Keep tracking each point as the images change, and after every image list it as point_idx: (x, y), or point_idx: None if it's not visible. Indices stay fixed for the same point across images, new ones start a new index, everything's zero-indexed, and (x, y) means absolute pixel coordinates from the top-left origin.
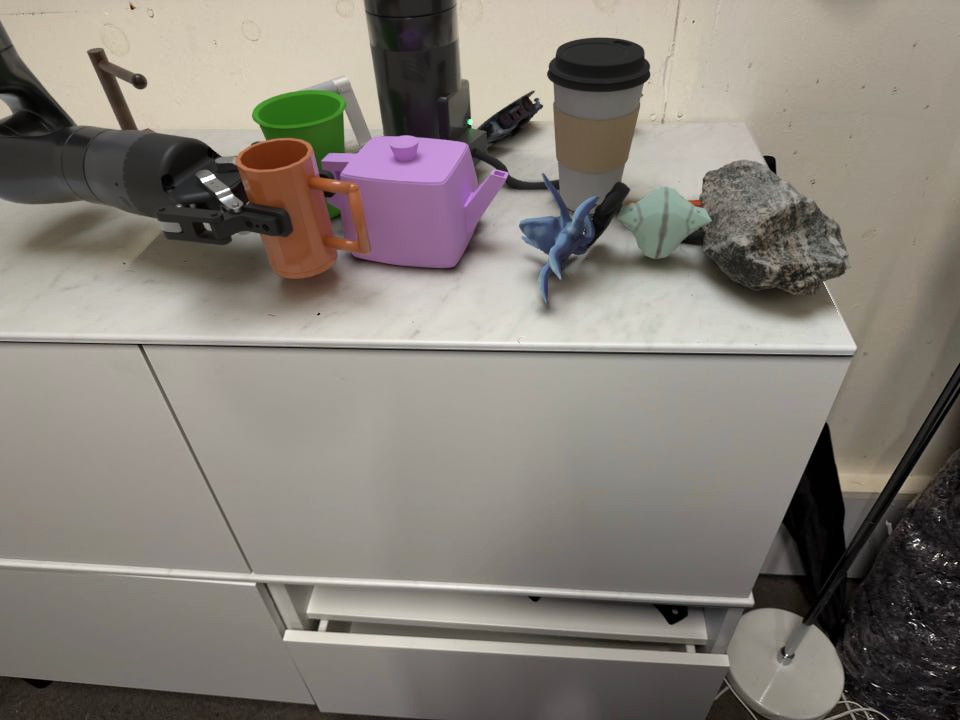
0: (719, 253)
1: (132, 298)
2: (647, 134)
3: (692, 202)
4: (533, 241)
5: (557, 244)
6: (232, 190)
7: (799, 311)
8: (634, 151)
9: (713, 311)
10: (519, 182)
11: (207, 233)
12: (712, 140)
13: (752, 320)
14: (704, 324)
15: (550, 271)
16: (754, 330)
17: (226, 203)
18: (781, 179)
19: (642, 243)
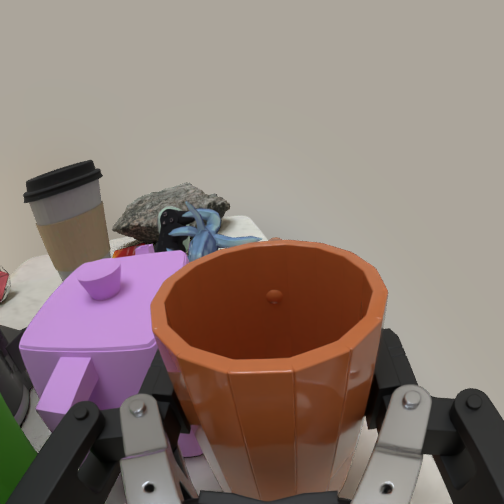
0: None
1: None
2: (15, 285)
3: (117, 252)
4: None
5: (225, 238)
6: (332, 493)
7: (224, 221)
8: (34, 286)
9: (233, 236)
10: None
11: (464, 477)
12: (40, 263)
13: (237, 228)
14: (246, 236)
15: None
16: (245, 227)
17: (420, 425)
18: (162, 190)
19: (186, 242)
